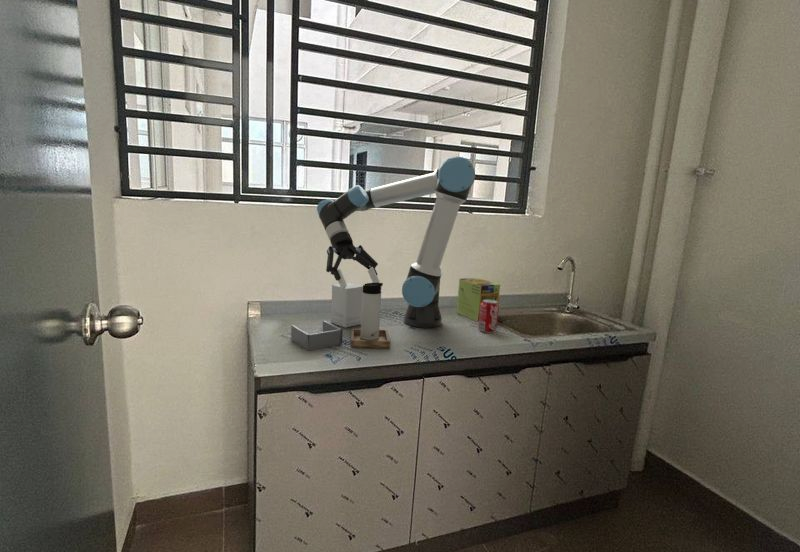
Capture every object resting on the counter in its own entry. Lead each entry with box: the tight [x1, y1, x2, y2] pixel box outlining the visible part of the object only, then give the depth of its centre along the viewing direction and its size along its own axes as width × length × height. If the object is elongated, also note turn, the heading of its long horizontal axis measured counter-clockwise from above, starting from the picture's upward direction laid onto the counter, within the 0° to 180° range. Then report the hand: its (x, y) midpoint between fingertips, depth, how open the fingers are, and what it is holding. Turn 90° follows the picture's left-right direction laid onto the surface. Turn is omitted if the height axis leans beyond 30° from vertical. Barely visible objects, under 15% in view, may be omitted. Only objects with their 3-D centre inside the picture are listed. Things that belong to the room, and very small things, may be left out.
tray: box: [350, 328, 391, 350], centre depth 150 cm, size 13×13×2 cm
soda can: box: [478, 299, 500, 334], centre depth 170 cm, size 7×7×12 cm
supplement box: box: [330, 282, 363, 328], centre depth 169 cm, size 9×9×15 cm
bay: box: [290, 320, 343, 351], centre depth 147 cm, size 12×13×5 cm
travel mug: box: [360, 282, 383, 340], centre depth 149 cm, size 6×7×20 cm
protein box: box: [456, 277, 501, 323], centre depth 191 cm, size 10×15×16 cm
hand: (361, 285), depth 151 cm, fingers open, 13 cm apart
